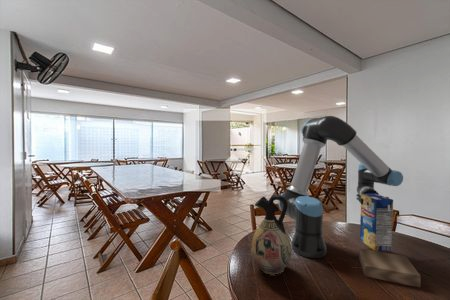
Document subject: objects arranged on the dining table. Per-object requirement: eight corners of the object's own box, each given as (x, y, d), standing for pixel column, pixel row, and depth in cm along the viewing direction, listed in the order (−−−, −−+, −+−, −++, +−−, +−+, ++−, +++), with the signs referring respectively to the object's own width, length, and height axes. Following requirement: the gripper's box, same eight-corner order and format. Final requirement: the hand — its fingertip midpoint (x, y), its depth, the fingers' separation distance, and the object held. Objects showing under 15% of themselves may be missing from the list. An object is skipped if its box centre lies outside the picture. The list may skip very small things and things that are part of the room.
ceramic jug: (247, 277, 79) (246, 196, 78) (254, 256, 94) (254, 188, 93) (295, 286, 74) (296, 200, 73) (295, 262, 89) (296, 190, 88)
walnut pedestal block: (364, 276, 79) (365, 265, 79) (358, 257, 92) (358, 248, 92) (420, 287, 73) (420, 276, 73) (405, 265, 86) (405, 255, 86)
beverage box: (375, 251, 91) (376, 199, 90) (359, 239, 102) (360, 193, 101) (391, 251, 91) (393, 199, 90) (374, 239, 102) (375, 193, 101)
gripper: (390, 204, 109) (407, 219, 87) (349, 200, 116) (356, 213, 95) (390, 189, 108) (407, 200, 87) (349, 186, 116) (356, 196, 94)
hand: (380, 207), depth 91 cm, fingers closed on beverage box, 5 cm apart
